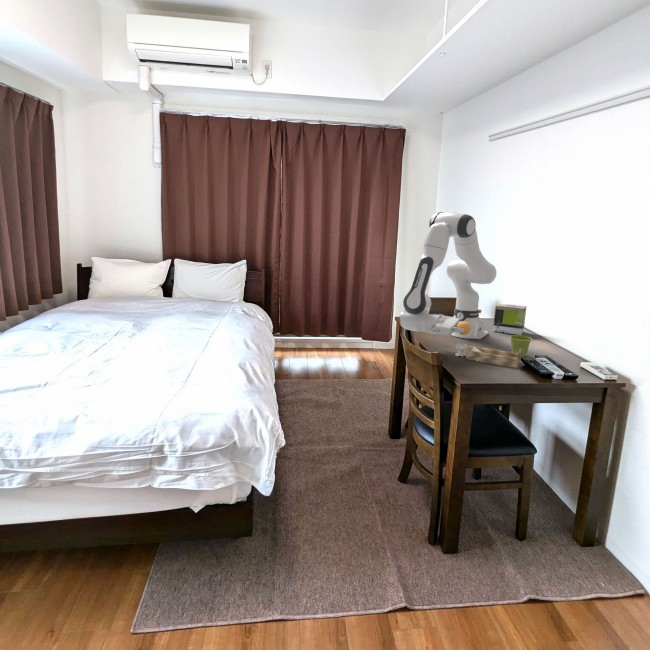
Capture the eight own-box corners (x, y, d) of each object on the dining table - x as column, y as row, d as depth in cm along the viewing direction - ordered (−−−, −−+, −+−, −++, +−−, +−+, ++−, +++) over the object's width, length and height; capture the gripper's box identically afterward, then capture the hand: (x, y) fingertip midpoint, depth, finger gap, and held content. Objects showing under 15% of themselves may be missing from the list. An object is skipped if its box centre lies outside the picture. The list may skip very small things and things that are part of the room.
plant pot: (516, 359, 215) (519, 340, 212) (503, 353, 223) (505, 335, 221) (533, 358, 217) (536, 340, 215) (520, 352, 226) (522, 334, 224)
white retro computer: (523, 331, 265) (527, 305, 262) (521, 335, 256) (525, 308, 253) (495, 327, 272) (498, 302, 268) (492, 331, 263) (495, 305, 260)
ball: (460, 332, 219) (462, 319, 217) (472, 334, 215) (474, 321, 213) (453, 334, 215) (454, 321, 213) (465, 337, 211) (467, 324, 209)
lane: (465, 359, 212) (467, 345, 210) (469, 354, 219) (470, 340, 218) (518, 368, 203) (520, 353, 201) (520, 362, 210) (522, 348, 209)
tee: (454, 356, 216) (455, 345, 215) (456, 353, 220) (457, 343, 219) (464, 357, 214) (465, 346, 213) (466, 355, 218) (467, 344, 217)
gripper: (429, 322, 210) (462, 326, 204) (440, 313, 227) (470, 316, 222) (428, 336, 211) (460, 341, 206) (439, 325, 229) (469, 330, 223)
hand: (465, 328), depth 214 cm, fingers closed on ball, 6 cm apart
